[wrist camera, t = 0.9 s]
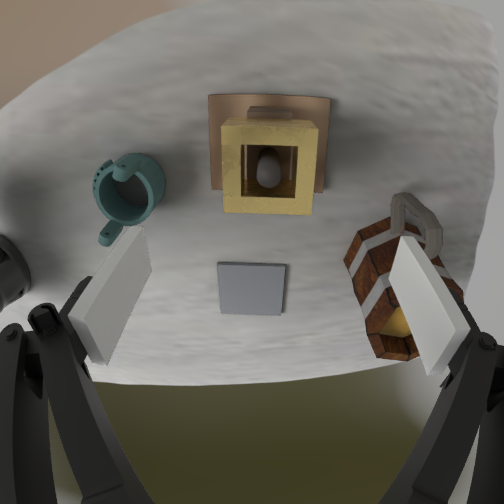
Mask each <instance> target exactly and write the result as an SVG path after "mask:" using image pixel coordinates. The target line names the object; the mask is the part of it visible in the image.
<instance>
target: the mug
mask: <svg viewBox="0 0 504 504" xmlns="http://www.w3.org/2000/svg"><path fill="white" fill-rule="evenodd" d="M390 206H391V217H388V218H385V219H383V220H381V221H379V222H377V223H375V224H372V225H370V226H368V227H366V228H364V229H361V230H359V231H358V232H357V234H356V236H355V238H354V240H353V242H352V244H351V246H350V248H349V250H348V252H347V254H346V256H345V258H344V263H345V265H346V267H347V269H348V271H349V274H350V276H351V278H352V282H353V288H354V293H355V295H356V297H357V299H358V302H359V304H360V306H361V309H362V312H363V315H364V318H365V324H366V332H367V336H368V339H369V341H370V343H371V346H372V348H373V350H374V353H375V355H376V357H377V358H382V359H390V360H399V361H409V360H411V359H414V358H416V357H418V356H420V354H419V351H418V348H417V346H416V343H415V341H414V338H413V335H412V333H411V330H410V328H409V325H408V323H407V320H406V318H405V316H404V313H403V311H402V308H401V306H400V304H399V301H398V299H397V297H396V294H395V292H394V290H393V288H392V285H391V283H390V281H389V275H390V272H391V269H392V266H393V262H394V259H395V256H396V252H397V249H398V245H399V241H400V238H401V236H412V237H414V238H415V239H416V241H417V242H418V244H419V245H420V247H421V248H422V250H423V251H424V253H425V254H426V255H427V257H428V258H429V260H430V261H431V263H432V265H433V266H434V268H435V269H436V271H437V272H438V274H439V275H440V277H441V279H442V280H443V282H444V283H445V285H446V287H447V288H452V289H454V290H455V291H456V292H457V293H458V294H459V295H460V297H461V298H462V300H463V301H464V298H463V290H462V289H461V288H460V287H459V286H458V285H457V284H456V283H455V282H454V280H453V279H452V278H451V276H450V275H449V273H448V272H447V270H446V269H445V267H444V265H443V263H442V262H441V260H440V258H439V256H438V253H439V251H440V249H441V247H442V245H443V237H442V227H441V226H440V224H439V222H438V220H437V218H436V216H435V215H434V213H433V212H432V211H430V210H429V209H428V208H426V207H425V206H424V205H423V204H422V203H421V202H420V201H419V200H418V199H417V198H415V197H414V196H413V195H412V194H410V193H407V192H403V193H398V194H394V196H393V198H392V201H391V205H390ZM405 206H406V207H407V208H408V209H409V211H410V212H411V213H413V214H414V215H415V216H416V217H418V218H419V219H420V221H421V223H422V225H423V227H424V229H425V240H424V239H423V237H422V236H421V234H420V232H419V230H418V228H417V227H416V226H413V225H411V224H408V223H405Z"/></svg>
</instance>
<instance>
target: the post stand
mask: <svg viewBox="0 0 504 504" xmlns="http://www.w3.org/2000/svg"><path fill="white" fill-rule="evenodd" d="M208 103H209V137H210V163H211V185H212V190H223V180H222V145H221V126H222V125H223V123H224V122H225V121H226V120H227V119H228V118H275V119H296V120H311V121H312V123H313V124H314V125H315V126H316V127H317V128H318V143H317V156H316V169H315V180H314V191H313V192H315V193H323V184H324V174H325V164H326V152H327V141H328V128H329V113H330V99H329V98H321V97H309V96H294V95H272V94H217V95H208ZM292 157H293V146H282V145H245V178H255V179H257V181H258V182H259V184H260V185H262V186H264V187H267V188H271V187H274V186H276V185H277V184H278V183H279V182H280V180H281V179H286V180H291V175H292Z"/></svg>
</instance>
